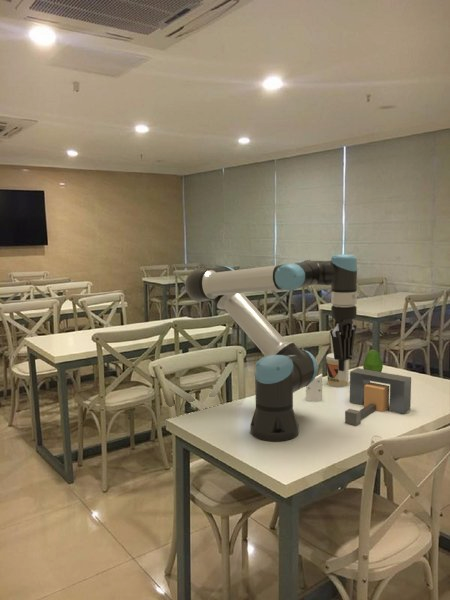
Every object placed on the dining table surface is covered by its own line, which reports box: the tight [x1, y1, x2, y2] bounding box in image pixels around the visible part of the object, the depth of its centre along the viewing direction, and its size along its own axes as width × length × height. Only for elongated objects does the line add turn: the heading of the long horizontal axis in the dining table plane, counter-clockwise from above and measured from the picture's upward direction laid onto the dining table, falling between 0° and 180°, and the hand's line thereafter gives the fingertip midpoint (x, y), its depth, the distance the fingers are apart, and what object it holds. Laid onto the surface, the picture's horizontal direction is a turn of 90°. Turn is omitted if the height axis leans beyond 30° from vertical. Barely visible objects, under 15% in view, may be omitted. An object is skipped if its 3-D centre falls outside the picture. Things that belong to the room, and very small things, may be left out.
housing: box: [349, 367, 412, 415], centre depth 179 cm, size 6×20×12 cm, turn 49°
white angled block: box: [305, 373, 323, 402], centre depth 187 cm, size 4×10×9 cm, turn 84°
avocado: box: [362, 349, 384, 372], centre depth 214 cm, size 8×8×12 cm
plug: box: [344, 381, 390, 427], centre depth 171 cm, size 22×7×8 cm, turn 139°
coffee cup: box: [325, 352, 350, 388], centre depth 205 cm, size 9×9×12 cm
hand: (343, 380), depth 157 cm, fingers closed
